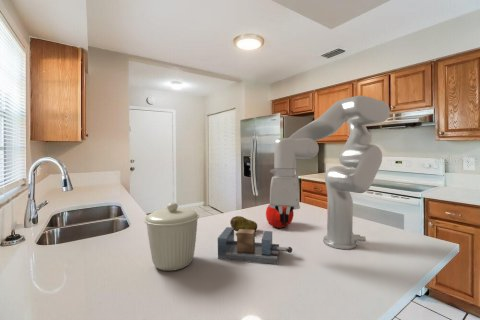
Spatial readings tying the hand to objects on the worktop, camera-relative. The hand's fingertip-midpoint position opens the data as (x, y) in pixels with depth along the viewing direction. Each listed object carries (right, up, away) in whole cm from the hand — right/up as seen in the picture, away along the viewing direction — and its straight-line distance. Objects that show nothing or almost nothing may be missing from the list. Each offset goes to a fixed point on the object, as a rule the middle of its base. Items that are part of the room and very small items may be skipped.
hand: (284, 224), depth 83 cm
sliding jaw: (-2, -10, +1) cm, 11 cm away
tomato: (+5, -11, +35) cm, 37 cm away
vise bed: (-12, -12, +4) cm, 18 cm away
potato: (-14, -11, +26) cm, 31 cm away
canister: (-39, -13, -3) cm, 41 cm away
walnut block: (-13, -11, +4) cm, 18 cm away
